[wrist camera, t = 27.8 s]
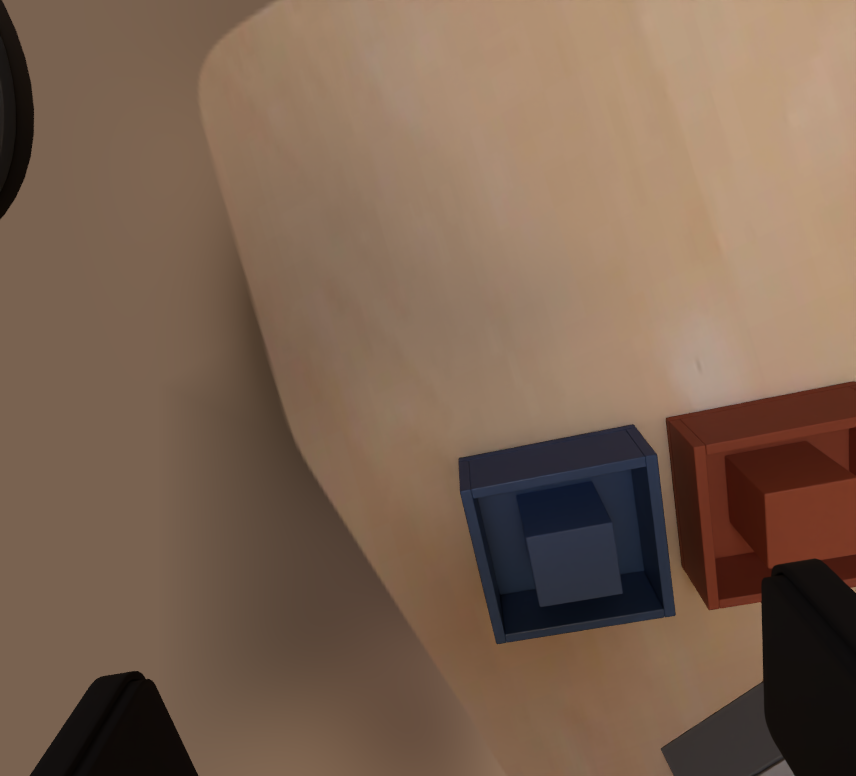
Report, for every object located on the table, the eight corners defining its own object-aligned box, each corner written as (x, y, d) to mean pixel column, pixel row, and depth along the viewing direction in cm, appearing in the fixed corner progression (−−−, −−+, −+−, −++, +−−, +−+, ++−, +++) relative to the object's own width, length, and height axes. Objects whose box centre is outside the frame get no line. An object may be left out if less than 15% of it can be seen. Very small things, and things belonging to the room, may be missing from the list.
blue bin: (491, 598, 38) (496, 644, 34) (458, 457, 35) (459, 491, 31) (652, 571, 37) (675, 615, 33) (633, 423, 33) (657, 454, 30)
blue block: (529, 558, 36) (539, 608, 32) (515, 494, 35) (525, 537, 30) (602, 545, 36) (623, 594, 31) (592, 480, 34) (612, 522, 30)
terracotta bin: (681, 566, 36) (709, 610, 33) (665, 417, 33) (693, 447, 30) (854, 537, 35) (902, 579, 32) (854, 381, 32) (908, 406, 28)
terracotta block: (729, 522, 35) (768, 569, 31) (724, 455, 33) (764, 494, 29) (808, 508, 34) (859, 554, 30) (806, 439, 33) (859, 477, 29)
